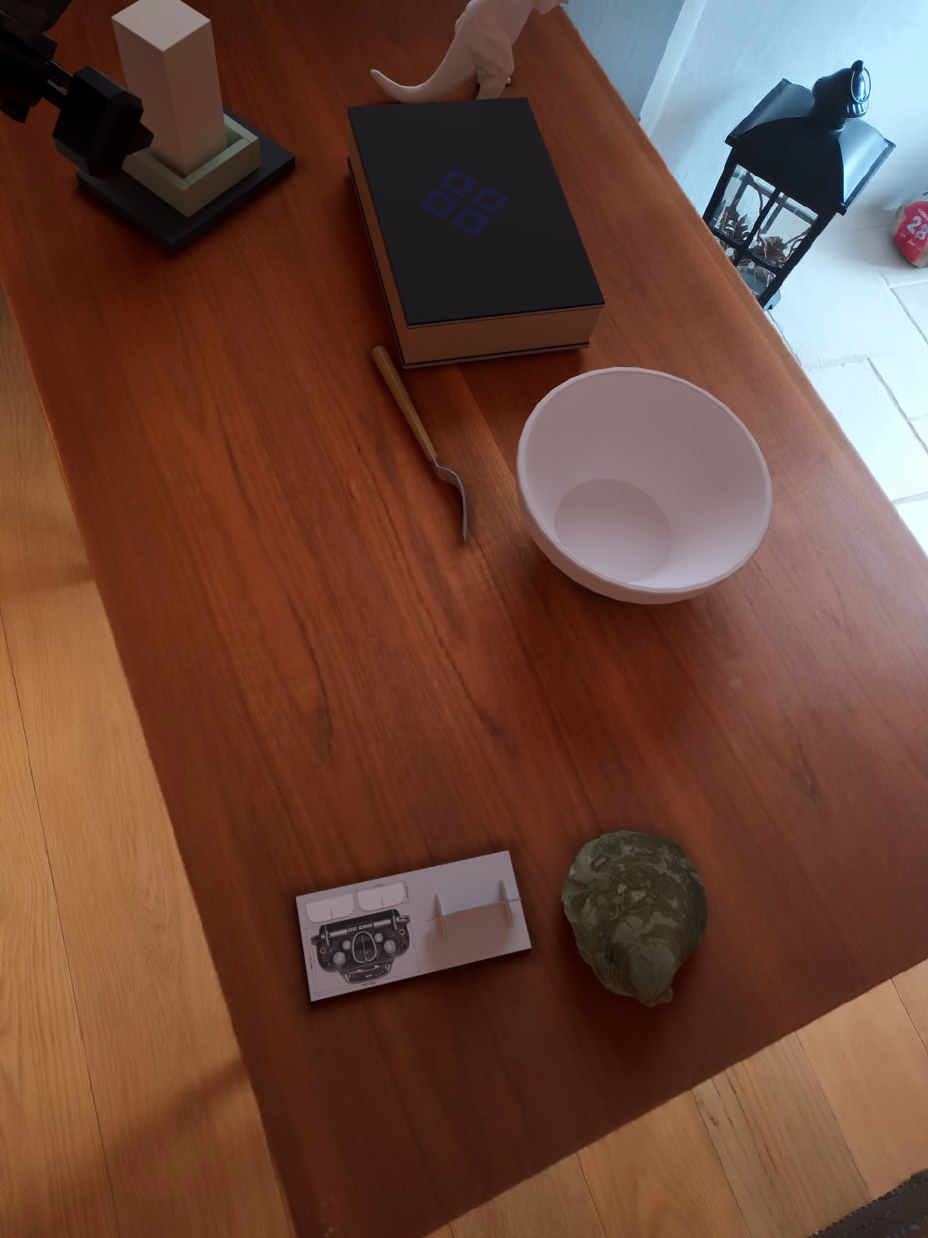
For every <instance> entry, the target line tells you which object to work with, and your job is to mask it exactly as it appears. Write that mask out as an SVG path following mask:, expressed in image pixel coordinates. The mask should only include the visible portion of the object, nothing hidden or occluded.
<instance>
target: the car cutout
mask: <svg viewBox="0 0 928 1238" xmlns="http://www.w3.org/2000/svg"><path fill="white" fill-rule="evenodd" d="M521 900H522V897H520V891H519V888H518V883H517V880H516V874H515V872H514V867H513V863H512V858H511V855H510V851H509V849H507V850H502V851H498V852H494V853H488V854H484V855H479V856H475V857H470V858H467V859H461V860H456V861H452V862H448V863H447V862H446V863H443V864H438V865H435V866H430V867H425V868H420V869H415V870H410V871H407V872H401V873H397V874H393V875H387V876H383V877H378V878H375V879H370V880H366V881H360V882H355V883H351V884H347V885H342V886H338V887H334V888H329V889H328V888H327V889H323V890H319V891H315V892H310V893H306V894H300V895H296V896H295V902H296V909H297V914H298V916H297V917H298V921H299V928H300V935H301V942H302V949H303V955H304V956H303V957H304V962H305V970H306V975H307V983H308V990H309V996H310V1002H311V1003H312V1002H316V1001H319V1000H324V999H328V998H332V997H336V996H340V995H345V994H348V993H353V992H356V991H357V992H358V991H361V990H364V989H368V988H372V987H373V988H374V987H378V986H381V985H386V984H389V983H393V982H398V981H402V980H405V979H409V978H414V977H417V976H418V977H419V976H422V975H426V974H430V973H435V972H438V971H442V970H446V969H447V970H448V969H451V968H455V967H459V966H463V965H467V964H471V963H476V962H479V961H480V962H481V961H484V960H487V959H492V958H496V957H499V956H504V955H509V954H512V953H517V952H520V951H525V950H529V949H532V943H531V938H530V934H529V930H528V927H527V922H526V918H525V914H524V909H523V904H522V901H521Z"/></svg>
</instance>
